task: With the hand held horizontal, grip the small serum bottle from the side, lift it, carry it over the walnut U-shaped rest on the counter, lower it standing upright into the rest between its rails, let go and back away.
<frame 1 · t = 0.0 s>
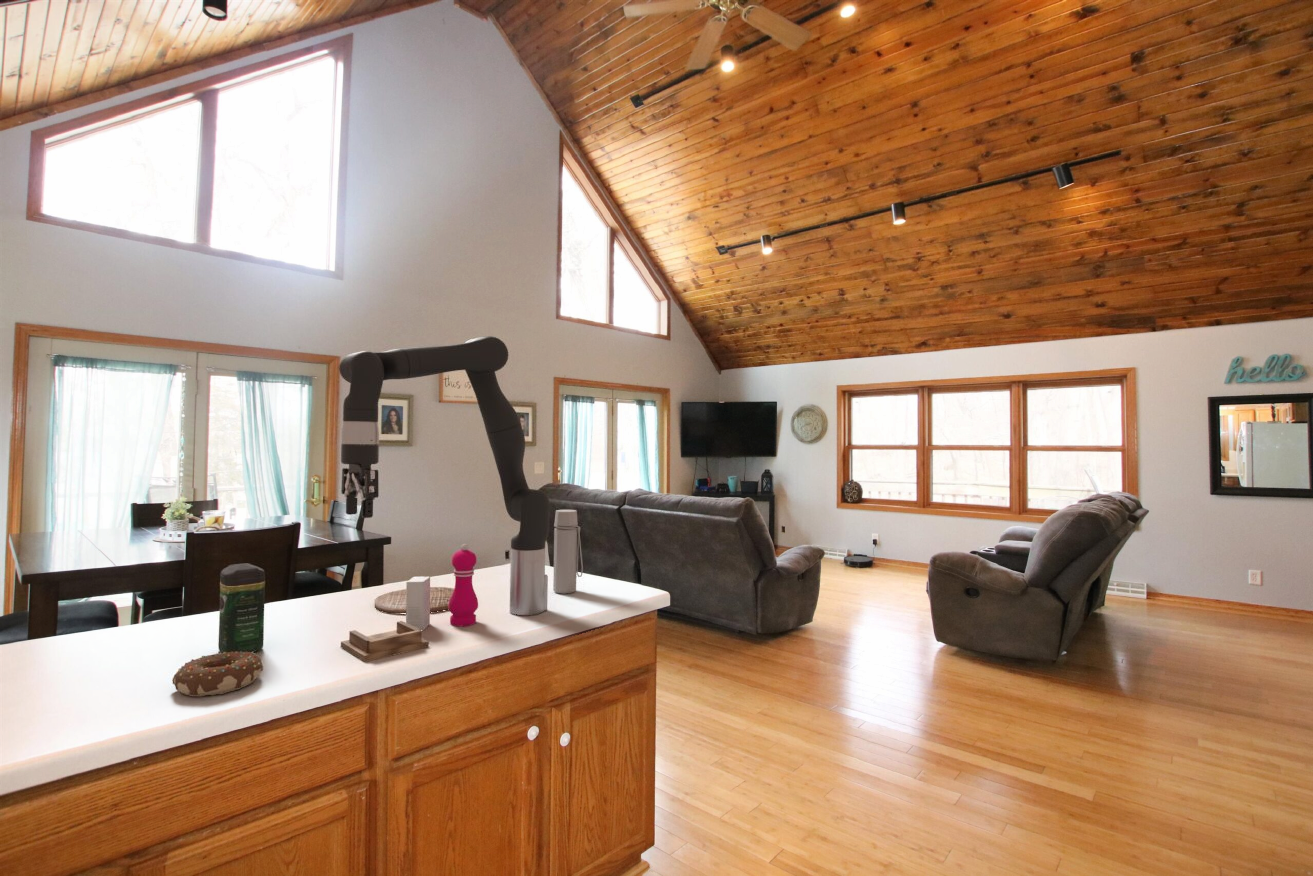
hand: (359, 516, 139), 29 cm above the worktop, tool pointing down, fingers open, 8 cm apart
trivet: (422, 604, 179), on the worktop
skincare box: (417, 628, 156), on the worktop
u rest: (384, 646, 141), on the worktop
donut: (219, 686, 118), on the worktop
water bottle: (567, 592, 195), on the worktop
pepper mill: (463, 623, 160), on the worktop
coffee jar: (241, 651, 137), on the worktop
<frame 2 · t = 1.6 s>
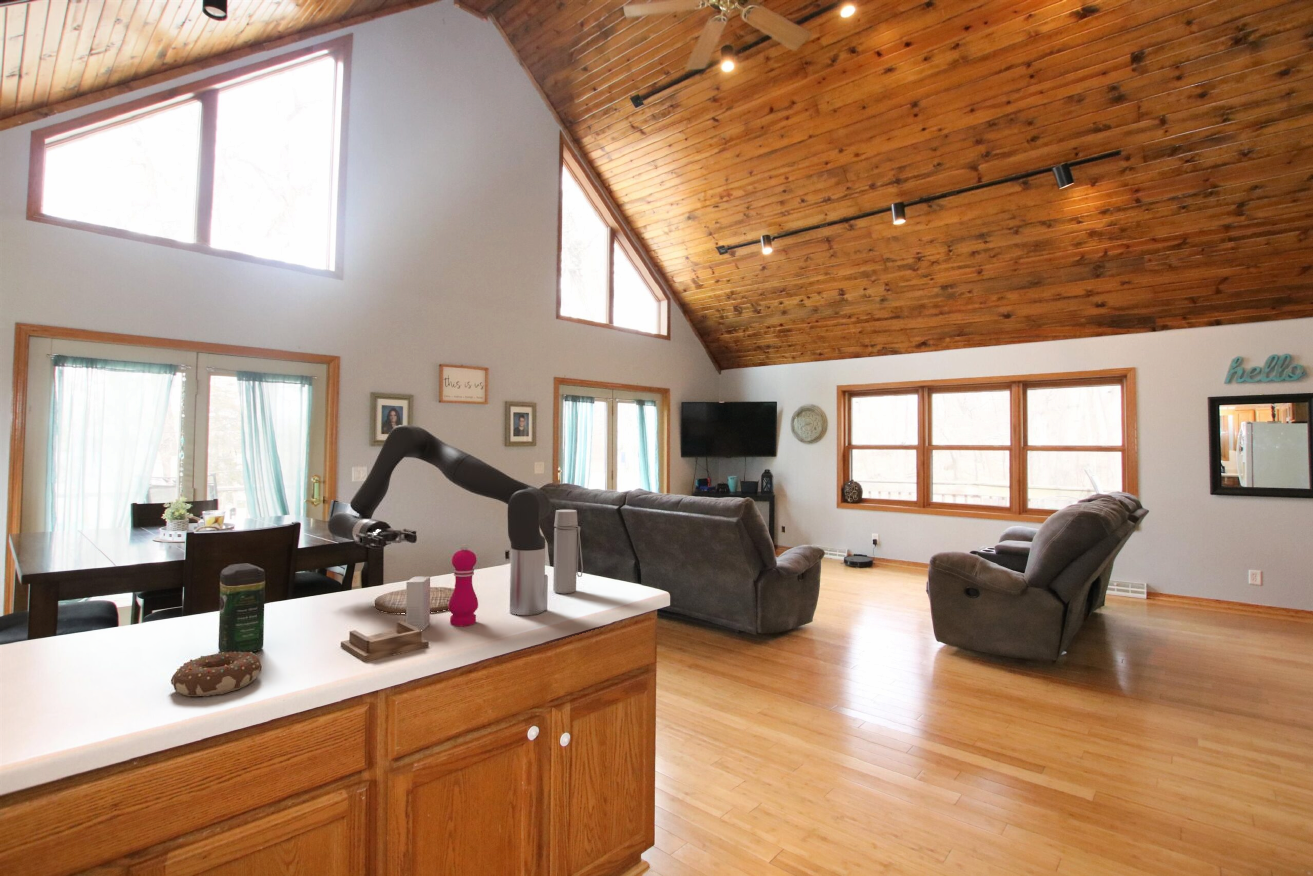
hand: (398, 540, 163), 20 cm above the worktop, tool horizontal, fingers open, 8 cm apart
nothing on the worktop moved.
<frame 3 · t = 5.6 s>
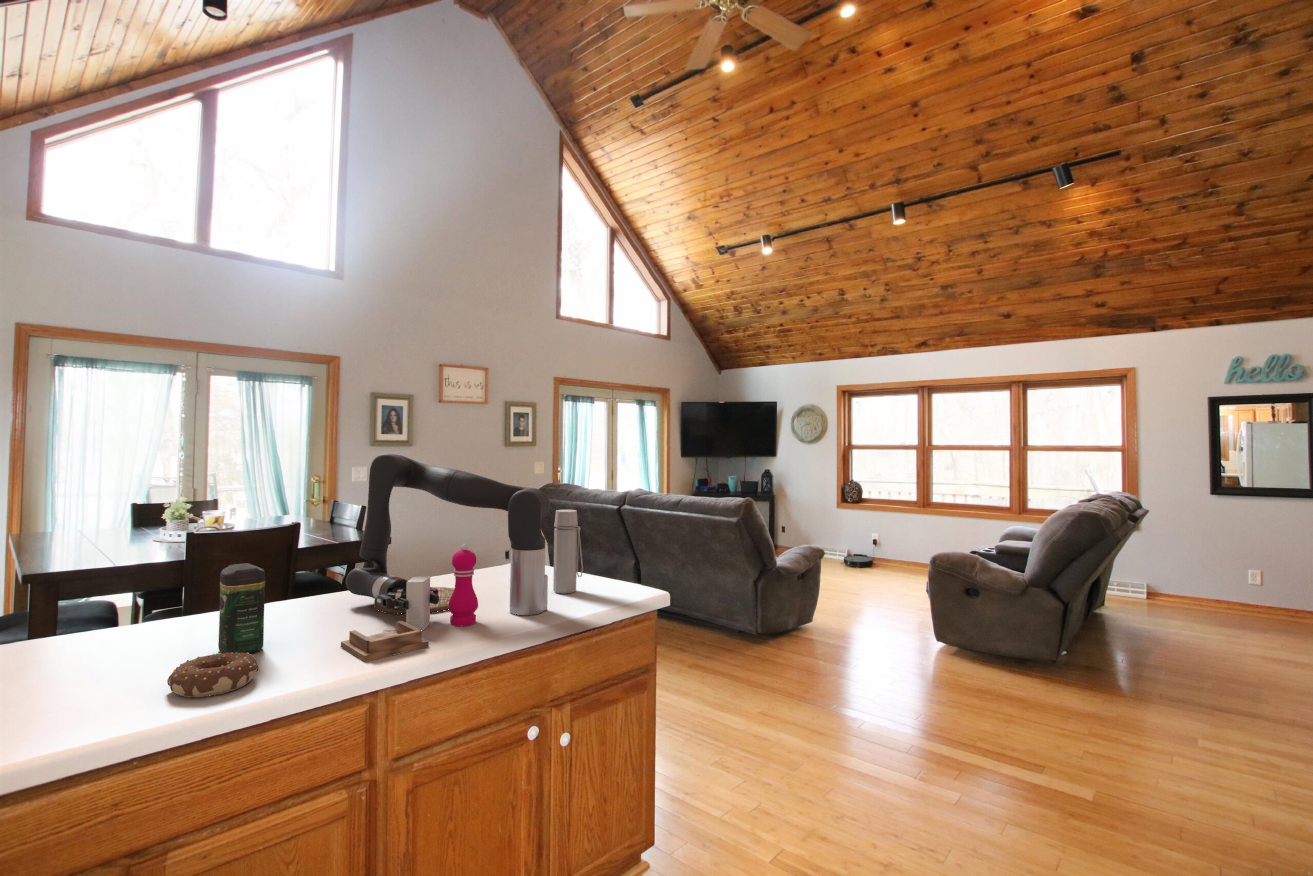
hand: (422, 602, 154), 6 cm above the worktop, tool horizontal, fingers closed on skincare box, 7 cm apart
skincare box: (417, 628, 156), on the worktop, touching gripper
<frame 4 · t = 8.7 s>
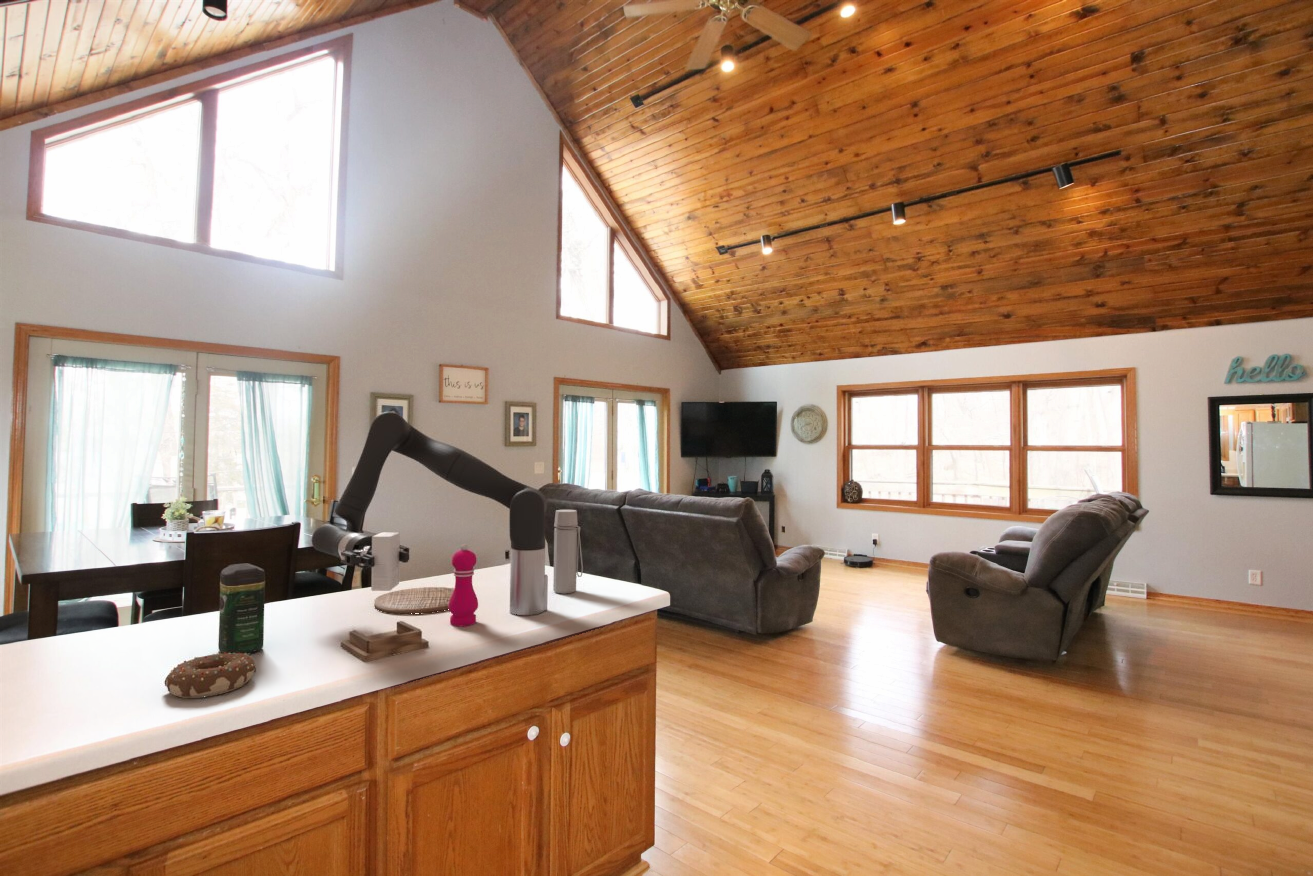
hand: (390, 559, 139), 20 cm above the worktop, tool horizontal, fingers closed on skincare box, 7 cm apart
skincare box: (385, 588, 141), point 13 cm above the worktop, touching gripper
when the fingers open (9 cm above the worktop, at t = 11.4 s): skincare box stays where it is, resting on u rest.
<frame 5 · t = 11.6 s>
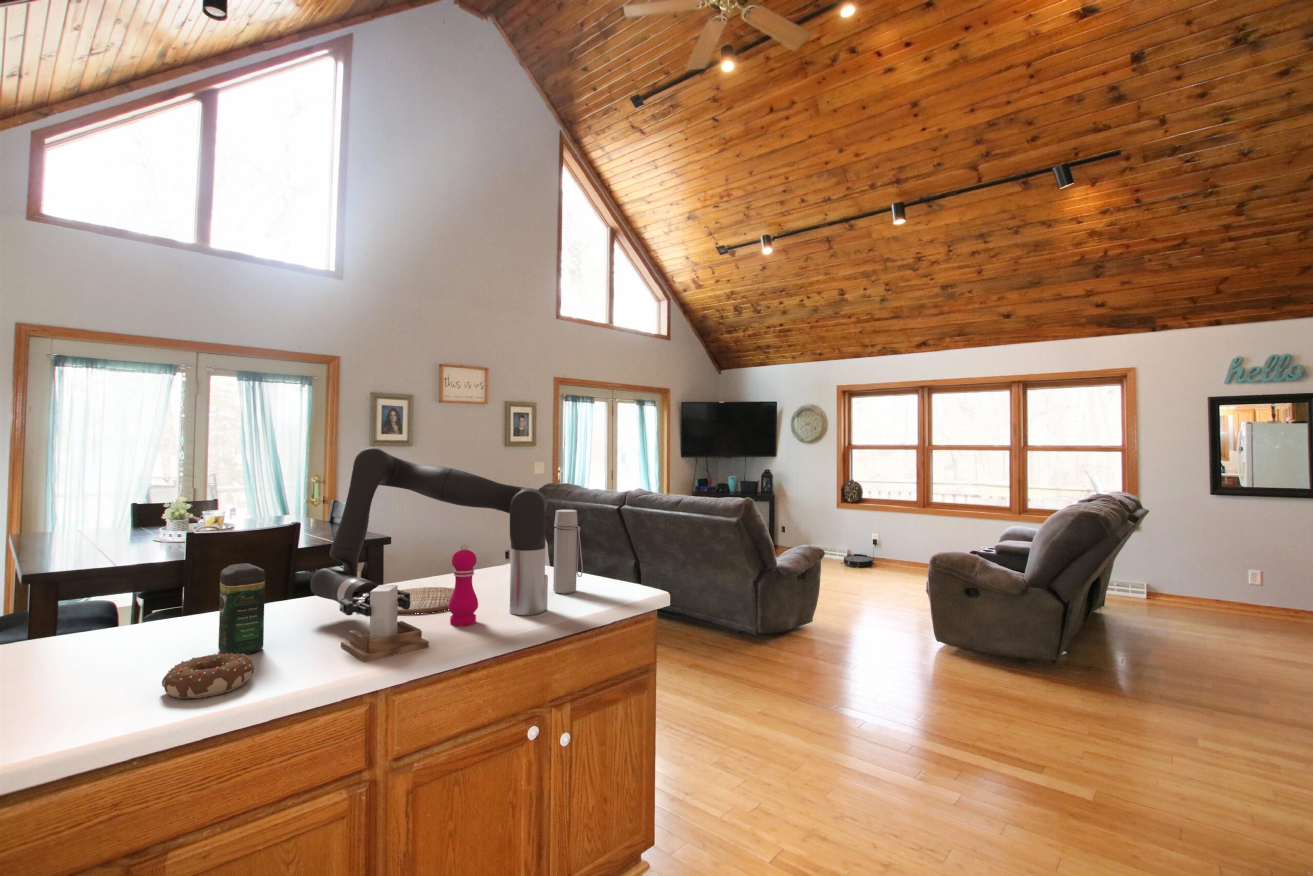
hand: (389, 608, 139), 9 cm above the worktop, tool horizontal, fingers open, 8 cm apart
skincare box: (383, 642, 141), point 1 cm above the worktop, touching u rest
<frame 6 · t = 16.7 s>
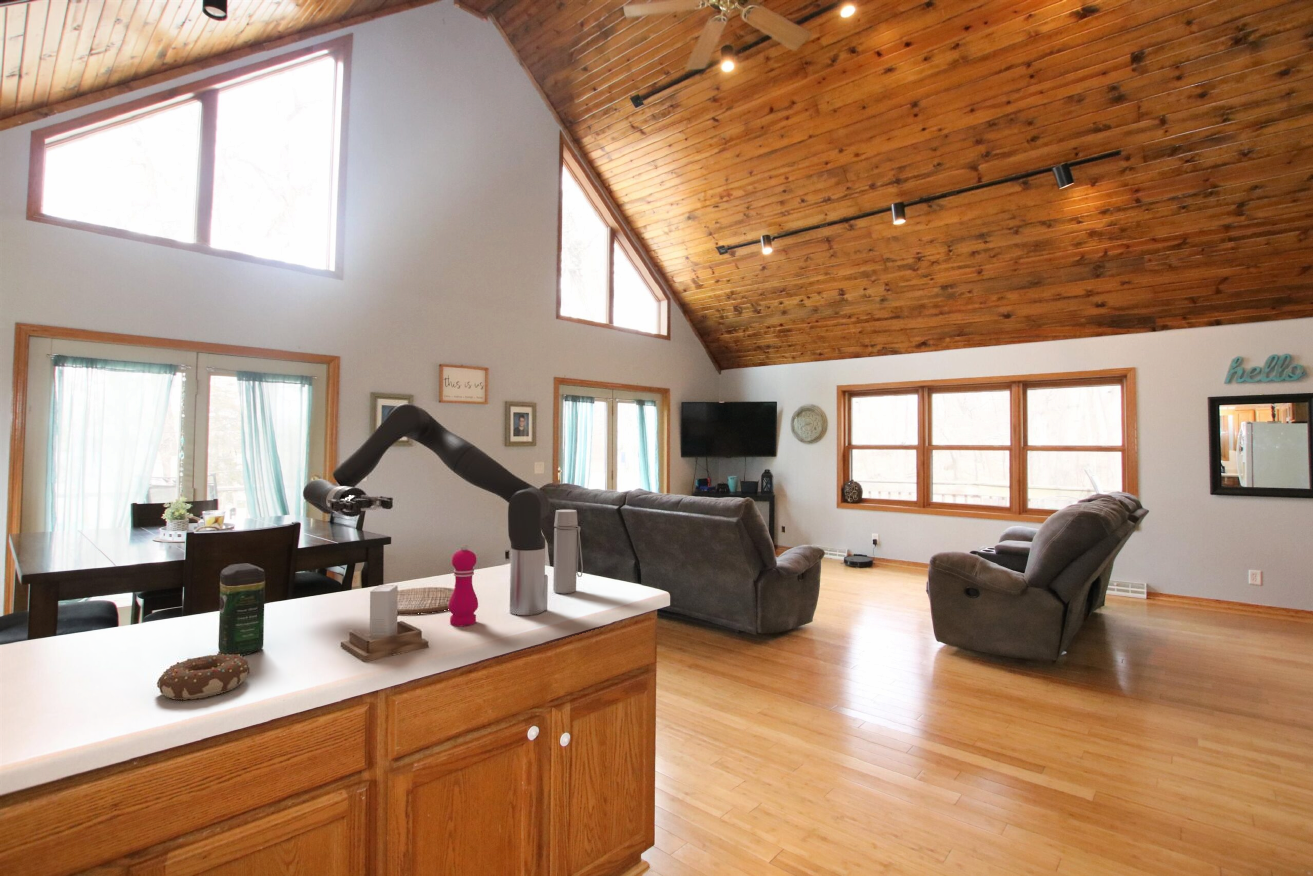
hand: (372, 506, 153), 30 cm above the worktop, tool horizontal, fingers open, 8 cm apart
at the end: skincare box inside the target area on the u rest (0.8 cm from its centre), point 1.0 cm above the u rest's base; skincare box tilted 0°; the gripper is holding nothing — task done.
